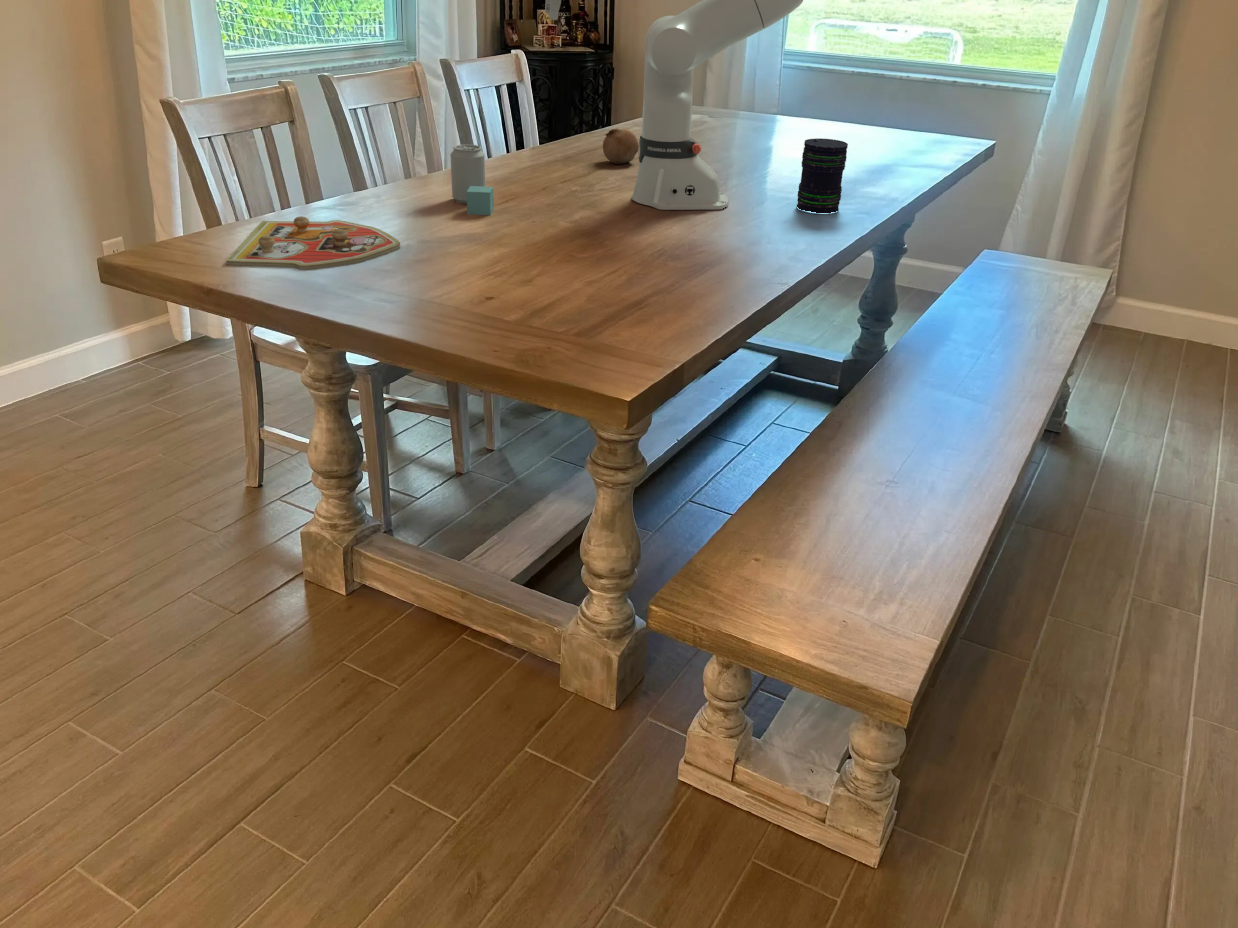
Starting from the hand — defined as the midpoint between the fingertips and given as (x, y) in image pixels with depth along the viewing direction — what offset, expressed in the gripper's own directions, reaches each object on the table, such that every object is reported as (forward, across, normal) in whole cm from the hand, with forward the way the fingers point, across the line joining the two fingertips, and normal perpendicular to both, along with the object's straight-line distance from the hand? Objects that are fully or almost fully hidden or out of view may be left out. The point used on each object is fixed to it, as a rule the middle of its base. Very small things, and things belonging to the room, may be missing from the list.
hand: (551, 16), depth 214 cm
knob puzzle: (+43, -39, +43) cm, 72 cm away
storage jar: (+31, -13, -65) cm, 73 cm away
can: (+40, -5, +14) cm, 43 cm away
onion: (+37, +34, -26) cm, 57 cm away
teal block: (+40, -14, +12) cm, 44 cm away
